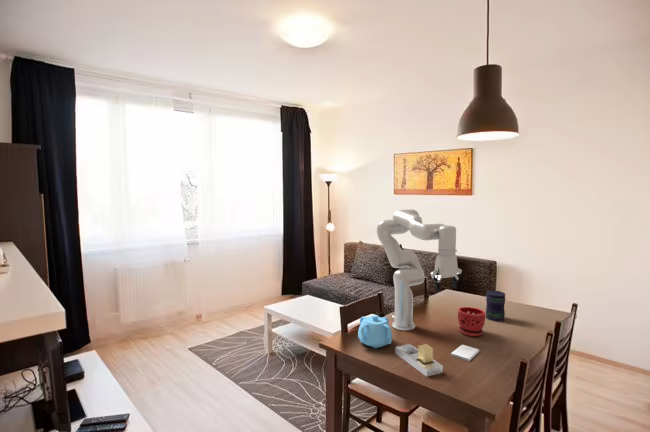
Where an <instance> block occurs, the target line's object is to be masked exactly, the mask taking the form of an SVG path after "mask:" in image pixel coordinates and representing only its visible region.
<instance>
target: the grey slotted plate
mask: <svg viewBox="0 0 650 432" xmlns="http://www.w3.org/2000/svg"><path fill="white" fill-rule="evenodd" d="M394 351H395V352H394V353H395V354H396V355H397V356H398V357H400V359H402V360H403V361H405V362H406V363H408V364H409V365H410V366H411V367H412V368H414V369H416V370H417V371H419V373H421V374H422V375H424V376H425V377H431V376H435V375H440V374H443V372H444V371H443V369H444V366H443V364H441V363H439V361H436V360H435V359H434V358H433V363H431V364H427V365H423V364H422V363H420V362H419V361H418V348H417V347H415V346H414V345H412V344H411V343H409V344H408V343H407V344H403V345H398V346H395V350H394Z"/></svg>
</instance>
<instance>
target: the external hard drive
mask: <svg viewBox="0 0 650 432" xmlns="http://www.w3.org/2000/svg"><path fill="white" fill-rule="evenodd" d="M479 352H480V349H478V348H476V347H472V346H469V345H465V344H461V345H459V346H458V347H457V348H456V349H454V351H452V352H451V353H450V357H454V358H457V359H461V360H463V361H465V362H466V361H467V362H470V361H471V360H472V359H473V358H475V356H476V355H477V354H478V353H479Z"/></svg>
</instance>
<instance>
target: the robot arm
mask: <svg viewBox="0 0 650 432" xmlns="http://www.w3.org/2000/svg"><path fill="white" fill-rule="evenodd" d="M408 232H410V234H411V236H413V237H414V238H416V239H419V240H422V241H433V240H434V241H435V240H437V241H438V248H437V250H438V253H437V255H436V258H435V261H434V262H435V263H434V270H432V271H431V272H430V276H431V279H432V280H433V282H434V290H435V291H437V292H441V291H442V290H441V289H442V285H441V281H442V279H446V278H451V282H450V283H451V284H450V286H451V288H453V289H456V290H457V289H458V281H459V279H460V278H461V274H462V272H463V269H461V268H459V266H458V258H457V257H458V256H457V252H458V251H457V248H456V247H457V228H456V226H455V225H447V224H443V223H427V224H424V223H423V219H422V217H421V216H420V214H419V212H418V210H415V209H411V208H410V209H399V210H397V211H395V212H394V213H393V214H392V219H385V220H382V221H381V220H380V222H378V223H377V226H376V234H377V238H378V240H379V242H380V243H381V245H382V247H383V248H384V251H385V254H386V257H387V259H388V261H389V264H390V266H391V267H392V268H395V269H397V270H395V271H394V273H393V276H392V279H393V285H394V315H392V316H391V318H392V319H394V320H393V321H392V322H391V327H392V328H393V329H396V330H398V331H412V330H414V329H415V328H416V323H414V322H413V315H414V314H413V313H414V311H413V310H414V294H413V291H412V289H411V288H410V287H411V286H417V285H421V284H423V283H424V282H425V280H426V279H425V277H426V276H425V272H424V269H423V268H422V265H421V263H420V260H419V257H418V255H417V253H415V252H414V250H412V249H402V248H401V246H400V243H399V242H398V240H397V239H396V238H395V237H393V235H402V234H403V235H404V234H406V233H408Z"/></svg>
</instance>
